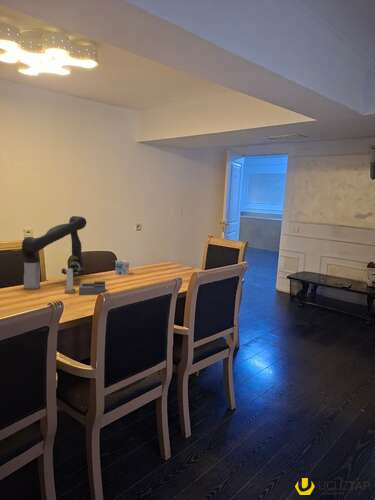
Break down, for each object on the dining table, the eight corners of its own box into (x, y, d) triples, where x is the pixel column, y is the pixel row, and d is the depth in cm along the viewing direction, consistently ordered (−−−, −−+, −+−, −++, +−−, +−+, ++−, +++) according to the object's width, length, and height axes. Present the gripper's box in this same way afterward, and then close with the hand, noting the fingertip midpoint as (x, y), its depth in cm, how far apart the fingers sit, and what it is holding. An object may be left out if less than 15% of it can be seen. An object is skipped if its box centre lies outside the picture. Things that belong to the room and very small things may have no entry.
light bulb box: (115, 274, 275) (115, 261, 274) (115, 273, 282) (115, 260, 280) (129, 274, 278) (129, 261, 276) (128, 272, 284) (128, 260, 283)
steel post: (64, 293, 217) (64, 270, 215) (65, 291, 223) (65, 268, 221) (74, 293, 219) (74, 270, 216) (75, 290, 224) (75, 268, 222)
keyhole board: (78, 294, 216) (78, 286, 216) (80, 289, 228) (80, 281, 227) (105, 294, 220) (105, 285, 219) (105, 289, 232) (105, 281, 231)
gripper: (63, 263, 244) (60, 267, 228) (84, 262, 247) (82, 267, 231) (63, 273, 245) (60, 278, 229) (84, 273, 248) (83, 278, 232)
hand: (71, 273), depth 230 cm, fingers open, 8 cm apart
